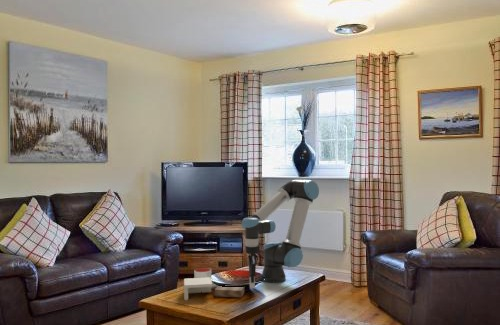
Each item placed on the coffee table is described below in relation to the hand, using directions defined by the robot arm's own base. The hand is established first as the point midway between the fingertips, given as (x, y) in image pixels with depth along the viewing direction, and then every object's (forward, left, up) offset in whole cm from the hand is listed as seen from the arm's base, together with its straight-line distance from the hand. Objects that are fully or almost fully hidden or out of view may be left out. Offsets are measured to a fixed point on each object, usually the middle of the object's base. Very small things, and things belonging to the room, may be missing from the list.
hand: (252, 287), depth 259 cm
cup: (+27, -18, -3) cm, 32 cm away
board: (+13, 0, -3) cm, 13 cm away
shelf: (+30, -1, -3) cm, 30 cm away
